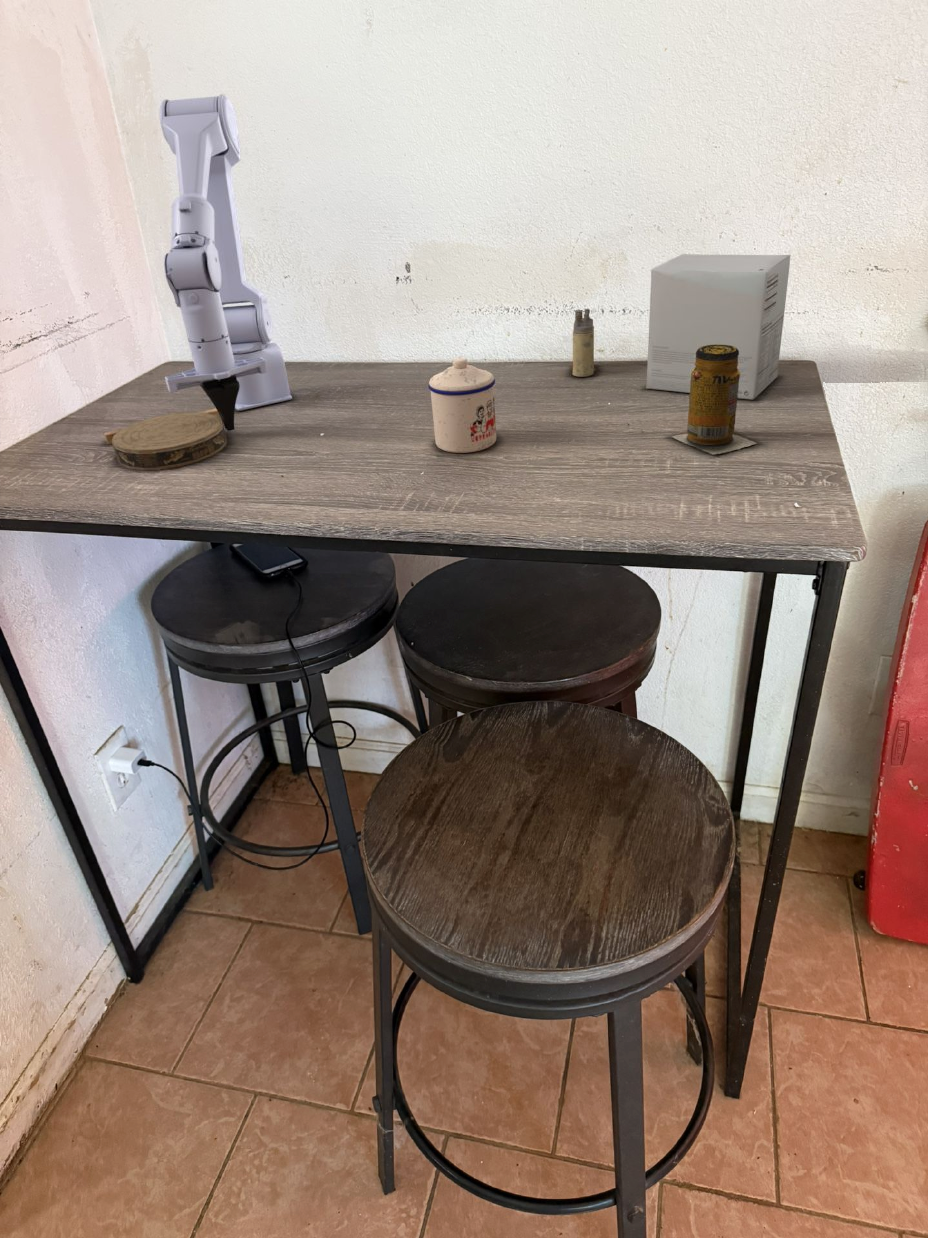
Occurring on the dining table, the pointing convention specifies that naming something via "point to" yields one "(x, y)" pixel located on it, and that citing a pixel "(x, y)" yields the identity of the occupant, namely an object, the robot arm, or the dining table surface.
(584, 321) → the lighter
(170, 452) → the tin can
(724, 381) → the condiment
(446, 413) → the teacup with lid
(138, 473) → the dining table surface
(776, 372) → the supplement box
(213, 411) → the rail
